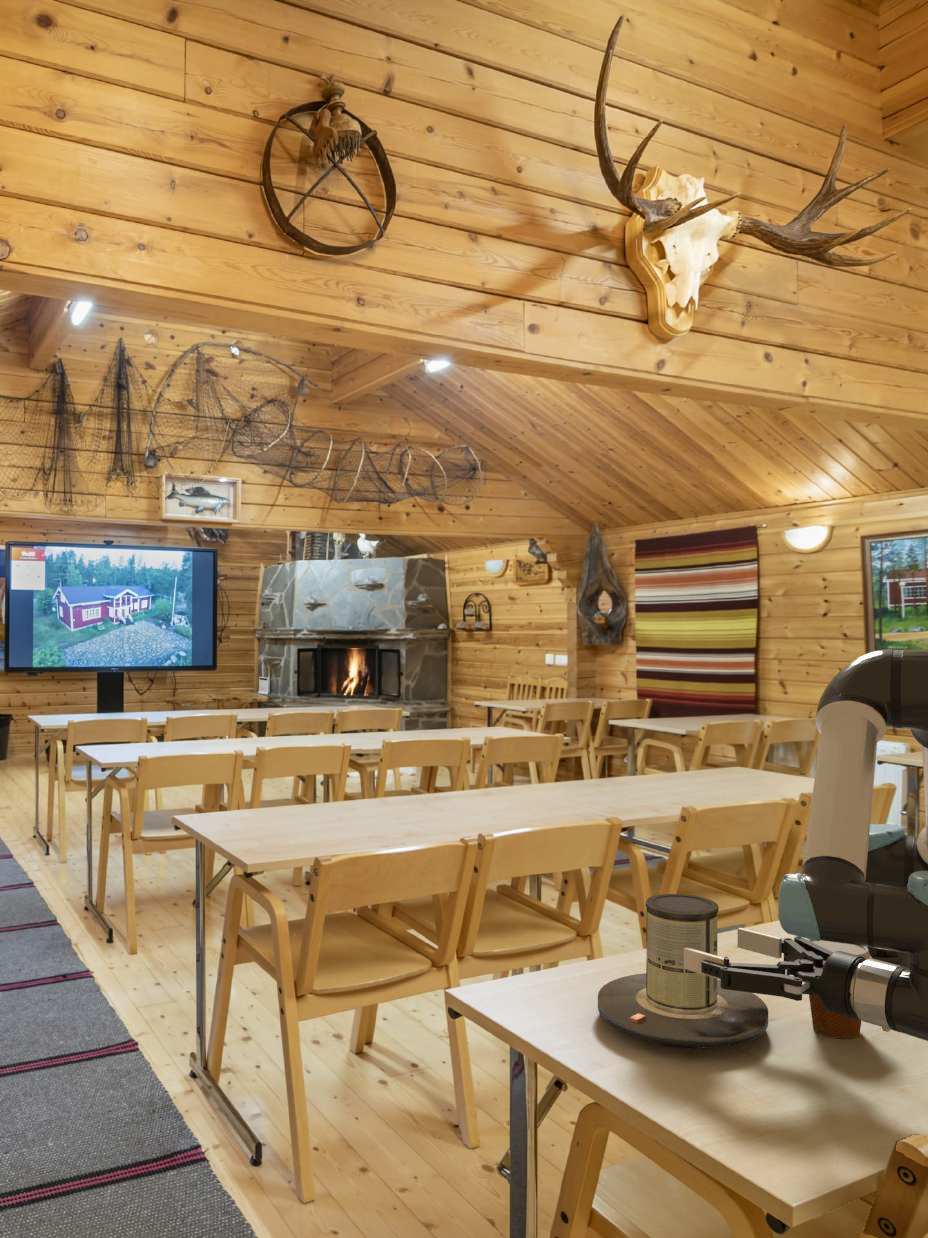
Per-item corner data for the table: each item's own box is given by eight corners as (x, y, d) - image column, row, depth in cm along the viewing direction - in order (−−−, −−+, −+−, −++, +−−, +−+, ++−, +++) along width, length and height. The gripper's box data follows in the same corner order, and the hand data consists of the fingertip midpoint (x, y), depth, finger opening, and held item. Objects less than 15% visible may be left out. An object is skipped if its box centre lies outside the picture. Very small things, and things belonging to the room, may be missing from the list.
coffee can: (638, 987, 141) (639, 893, 141) (706, 987, 141) (707, 893, 141) (653, 1015, 131) (654, 913, 131) (727, 1015, 131) (727, 913, 131)
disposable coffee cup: (879, 1047, 129) (879, 959, 129) (806, 1040, 131) (806, 953, 131) (864, 1020, 138) (864, 938, 139) (796, 1014, 140) (796, 933, 140)
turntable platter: (660, 971, 153) (660, 958, 153) (799, 1014, 135) (799, 999, 135) (563, 1009, 136) (564, 995, 136) (708, 1064, 119) (708, 1047, 119)
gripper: (814, 1048, 108) (660, 996, 123) (904, 994, 125) (759, 955, 140) (814, 982, 108) (660, 938, 124) (904, 937, 125) (759, 904, 141)
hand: (712, 947), depth 132 cm, fingers open, 13 cm apart
